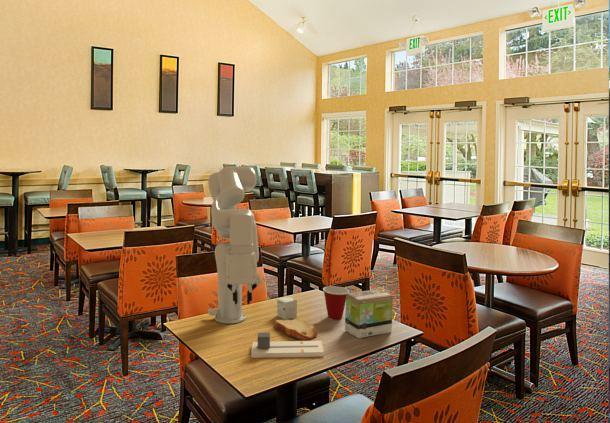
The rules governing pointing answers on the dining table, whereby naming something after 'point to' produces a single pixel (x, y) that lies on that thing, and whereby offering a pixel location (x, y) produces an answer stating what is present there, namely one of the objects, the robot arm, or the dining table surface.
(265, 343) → the slider tab
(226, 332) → the dining table surface
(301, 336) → the bread slice
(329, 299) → the plastic cup
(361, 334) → the tea box
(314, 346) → the console board
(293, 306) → the skincare box
